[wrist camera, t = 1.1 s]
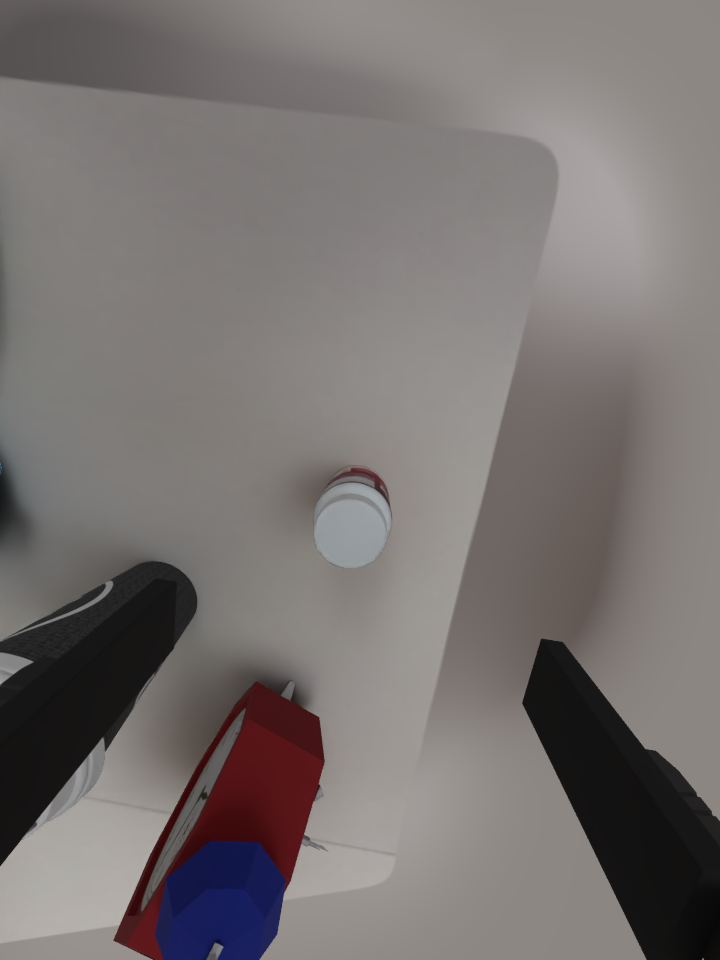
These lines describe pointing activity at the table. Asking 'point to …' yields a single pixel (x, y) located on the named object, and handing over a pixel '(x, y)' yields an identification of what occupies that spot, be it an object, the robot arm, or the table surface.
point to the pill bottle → (352, 518)
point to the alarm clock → (231, 838)
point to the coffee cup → (70, 628)
